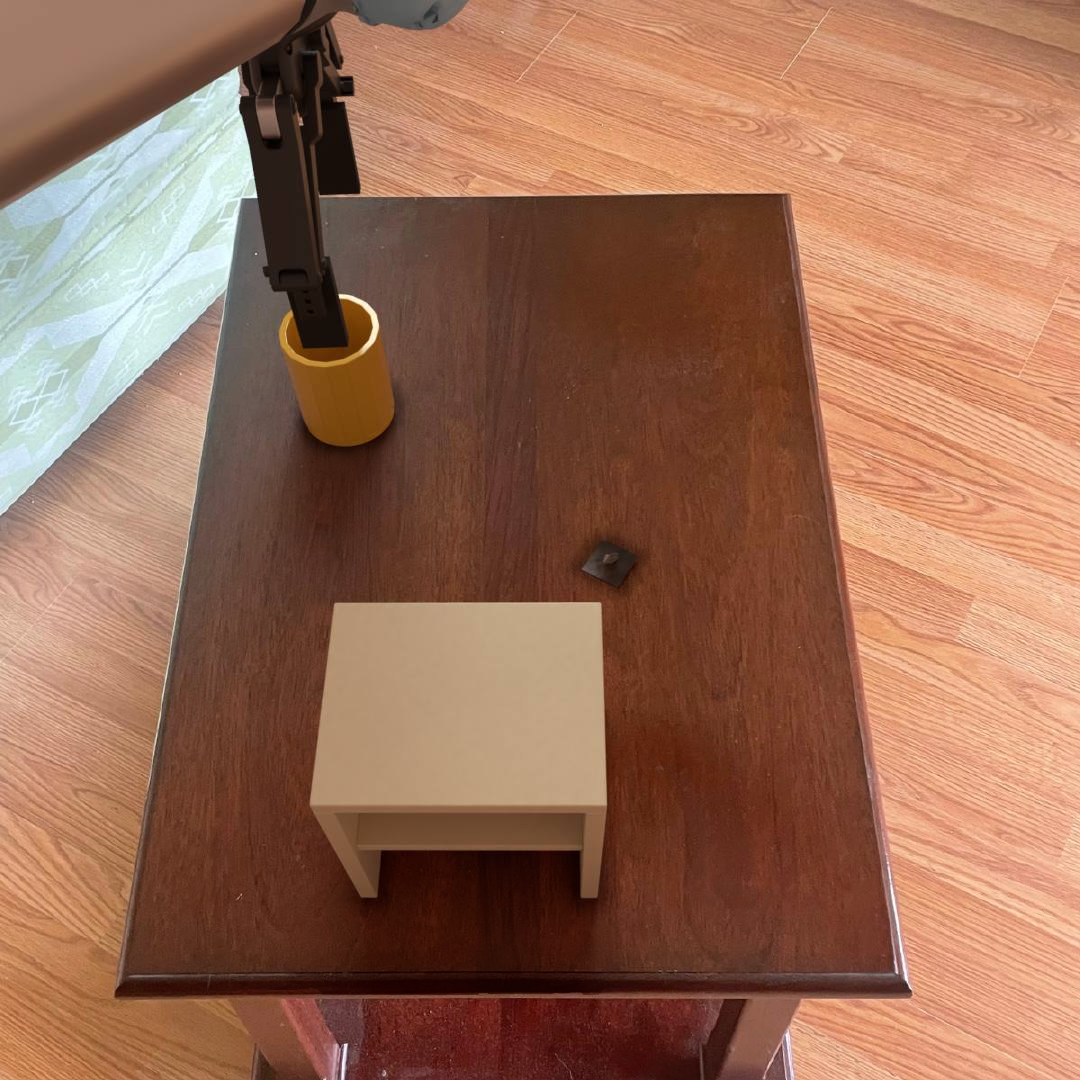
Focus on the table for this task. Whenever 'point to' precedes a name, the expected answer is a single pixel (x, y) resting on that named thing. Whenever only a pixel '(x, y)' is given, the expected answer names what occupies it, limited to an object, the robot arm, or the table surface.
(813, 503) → the table surface
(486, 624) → the shelf
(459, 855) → the table surface
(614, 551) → the dark square tile
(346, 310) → the cup
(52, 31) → the robot arm
